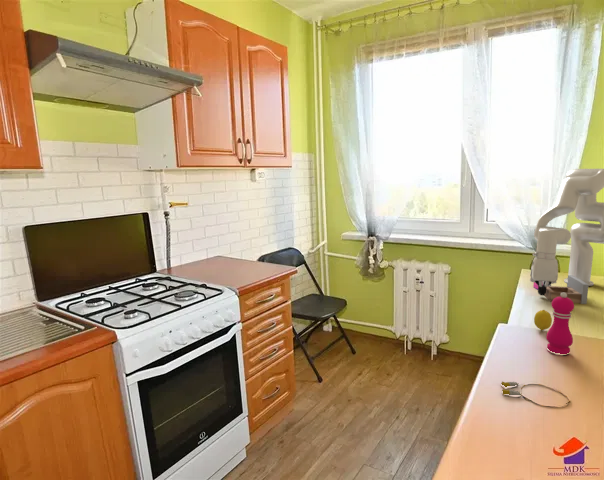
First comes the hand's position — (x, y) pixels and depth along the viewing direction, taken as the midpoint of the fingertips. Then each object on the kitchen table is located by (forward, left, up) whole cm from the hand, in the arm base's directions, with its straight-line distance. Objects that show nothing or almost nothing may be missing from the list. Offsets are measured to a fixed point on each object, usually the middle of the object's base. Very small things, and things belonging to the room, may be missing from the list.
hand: (541, 294), depth 181 cm
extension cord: (+88, -30, -2) cm, 93 cm away
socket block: (0, +8, -1) cm, 8 cm away
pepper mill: (+60, -14, -2) cm, 61 cm away
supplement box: (-15, +5, -2) cm, 16 cm away
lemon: (+42, -13, -2) cm, 44 cm away
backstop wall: (-2, +15, -2) cm, 15 cm away
